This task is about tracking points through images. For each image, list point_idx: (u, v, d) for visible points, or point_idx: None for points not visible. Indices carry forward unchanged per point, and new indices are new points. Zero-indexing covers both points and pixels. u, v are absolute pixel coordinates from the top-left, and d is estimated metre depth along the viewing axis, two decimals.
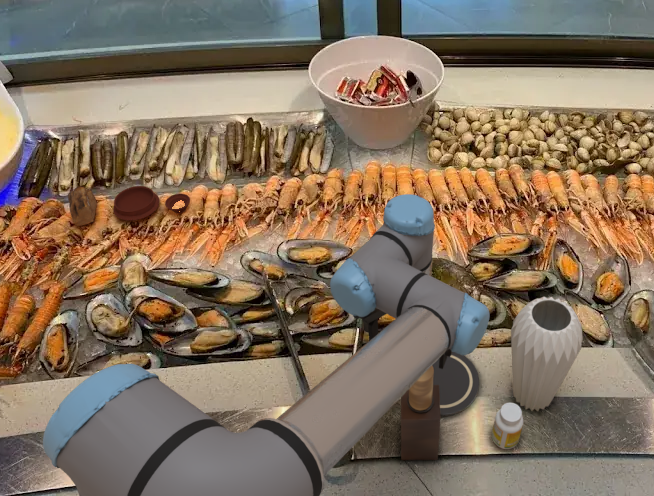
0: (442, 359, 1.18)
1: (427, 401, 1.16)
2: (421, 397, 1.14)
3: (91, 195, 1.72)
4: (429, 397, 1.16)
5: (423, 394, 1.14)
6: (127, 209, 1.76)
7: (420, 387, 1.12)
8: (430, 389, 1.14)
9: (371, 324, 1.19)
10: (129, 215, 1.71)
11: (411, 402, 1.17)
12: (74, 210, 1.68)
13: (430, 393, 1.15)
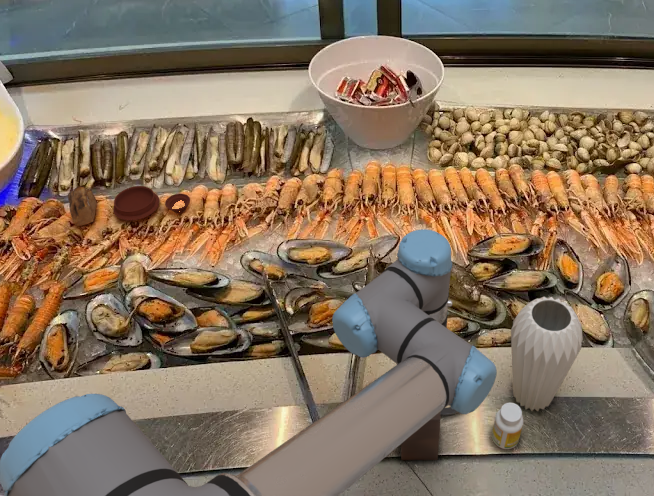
0: None
1: None
2: None
3: (91, 195, 1.72)
4: None
5: None
6: (127, 209, 1.76)
7: None
8: None
9: None
10: (129, 215, 1.71)
11: None
12: (74, 210, 1.68)
13: None
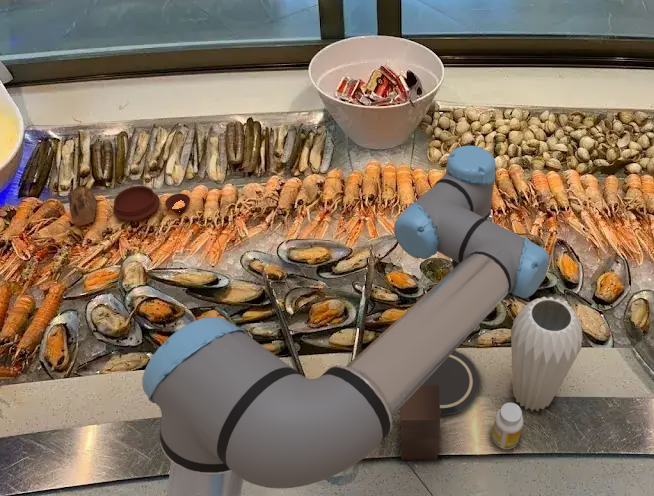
0: None
1: None
2: None
3: (91, 195, 1.72)
4: None
5: None
6: (127, 209, 1.76)
7: None
8: None
9: None
10: (129, 215, 1.71)
11: None
12: (74, 210, 1.68)
13: None
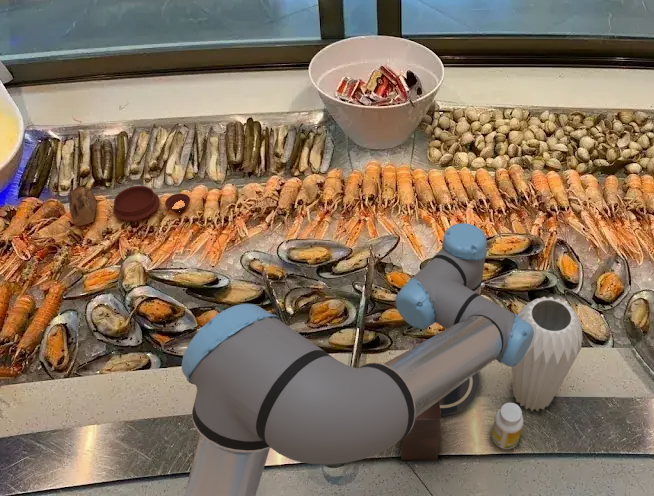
0: None
1: None
2: None
3: (91, 195, 1.72)
4: None
5: None
6: (127, 209, 1.76)
7: None
8: None
9: None
10: (129, 215, 1.71)
11: None
12: (74, 210, 1.68)
13: None
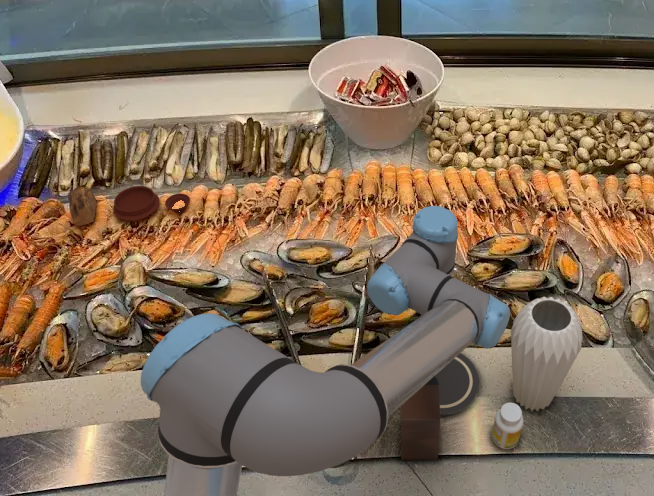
0: None
1: None
2: None
3: (91, 195, 1.72)
4: None
5: None
6: (127, 209, 1.76)
7: None
8: None
9: None
10: (129, 215, 1.71)
11: None
12: (74, 210, 1.68)
13: None
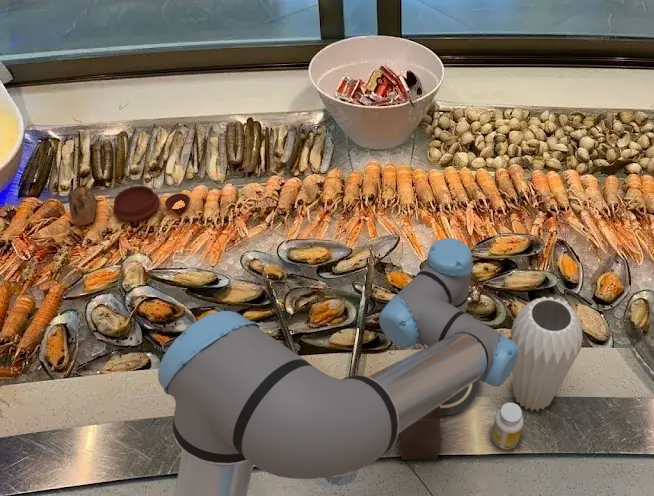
0: None
1: None
2: None
3: (91, 195, 1.72)
4: None
5: None
6: (127, 209, 1.76)
7: None
8: None
9: None
10: (129, 215, 1.71)
11: None
12: (74, 210, 1.68)
13: None
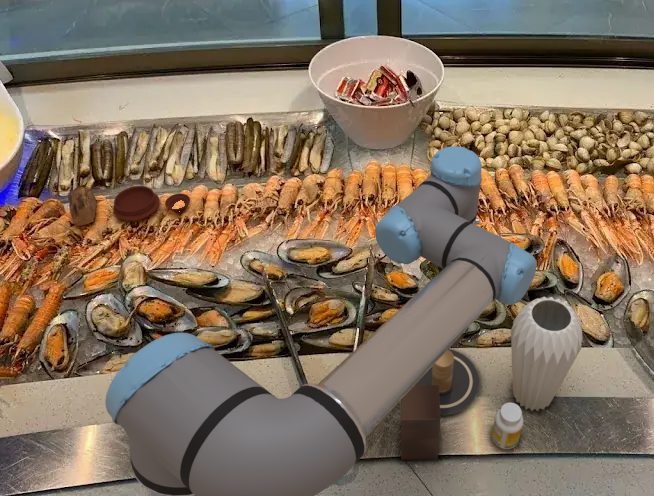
0: None
1: (447, 384, 1.35)
2: (443, 381, 1.33)
3: (91, 195, 1.72)
4: (449, 381, 1.34)
5: (445, 378, 1.32)
6: (127, 209, 1.76)
7: (443, 372, 1.31)
8: (450, 374, 1.33)
9: None
10: (129, 215, 1.71)
11: None
12: (74, 210, 1.68)
13: (450, 377, 1.34)
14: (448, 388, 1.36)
